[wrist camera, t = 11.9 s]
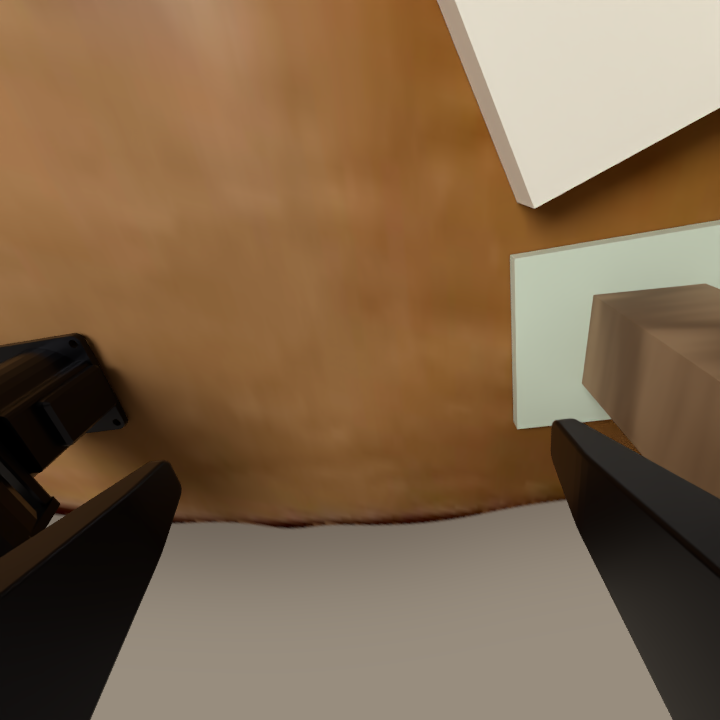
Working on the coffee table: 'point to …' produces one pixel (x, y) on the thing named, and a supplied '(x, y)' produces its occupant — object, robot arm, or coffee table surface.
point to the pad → (588, 309)
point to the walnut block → (661, 375)
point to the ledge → (584, 80)
